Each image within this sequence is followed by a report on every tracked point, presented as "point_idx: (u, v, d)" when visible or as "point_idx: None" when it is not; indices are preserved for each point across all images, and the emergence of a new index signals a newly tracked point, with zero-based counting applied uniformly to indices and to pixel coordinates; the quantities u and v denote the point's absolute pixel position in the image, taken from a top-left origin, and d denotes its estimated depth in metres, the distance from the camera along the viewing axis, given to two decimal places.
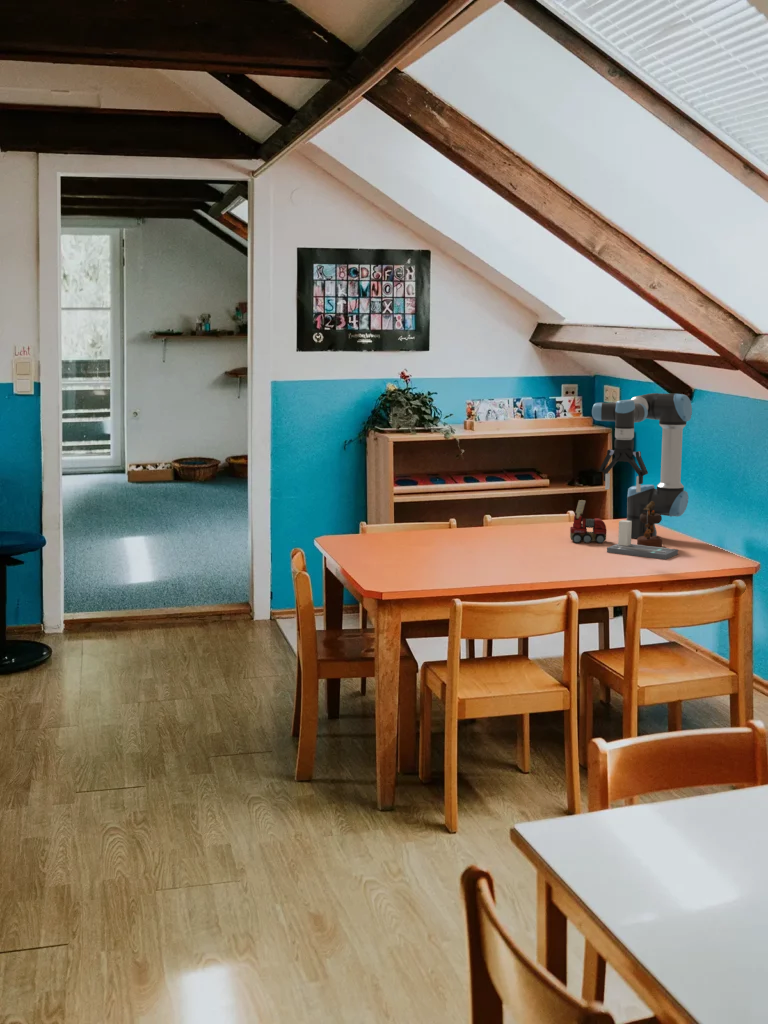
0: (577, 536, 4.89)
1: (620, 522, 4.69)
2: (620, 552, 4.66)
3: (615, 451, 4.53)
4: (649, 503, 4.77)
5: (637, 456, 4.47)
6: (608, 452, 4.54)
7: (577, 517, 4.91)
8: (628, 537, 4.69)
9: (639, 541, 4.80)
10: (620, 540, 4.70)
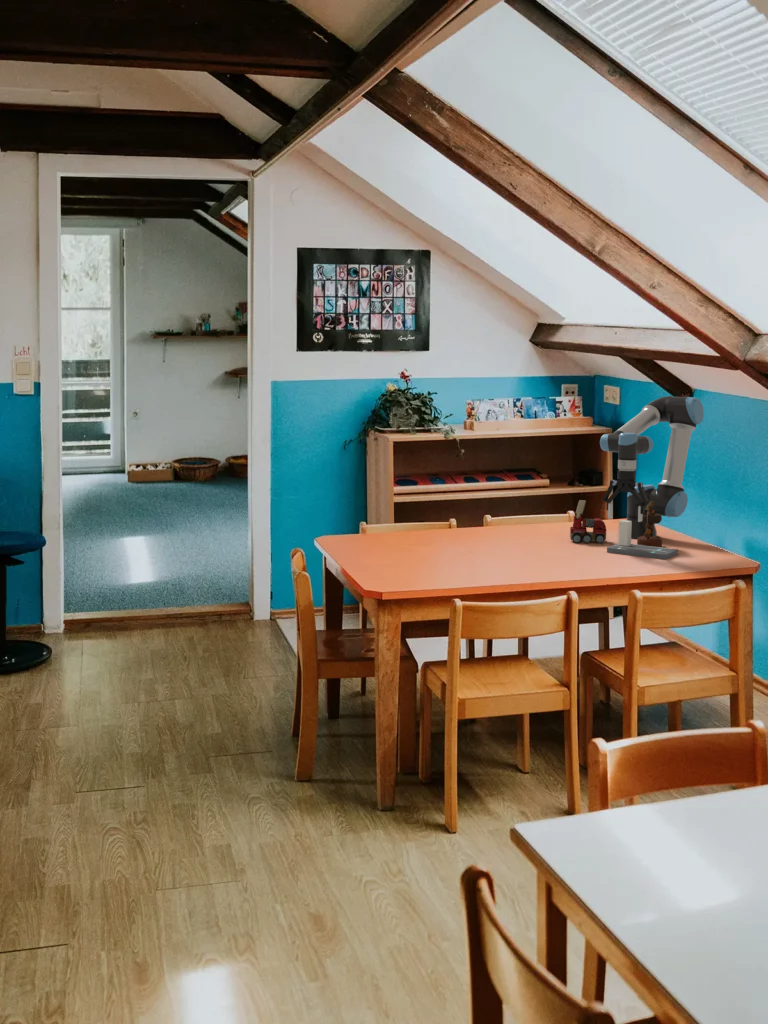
0: (577, 536, 4.89)
1: (620, 522, 4.69)
2: (620, 552, 4.66)
3: (618, 482, 4.68)
4: (649, 503, 4.77)
5: (639, 487, 4.62)
6: (611, 482, 4.69)
7: (577, 517, 4.91)
8: (628, 537, 4.69)
9: (639, 541, 4.80)
10: (620, 540, 4.70)
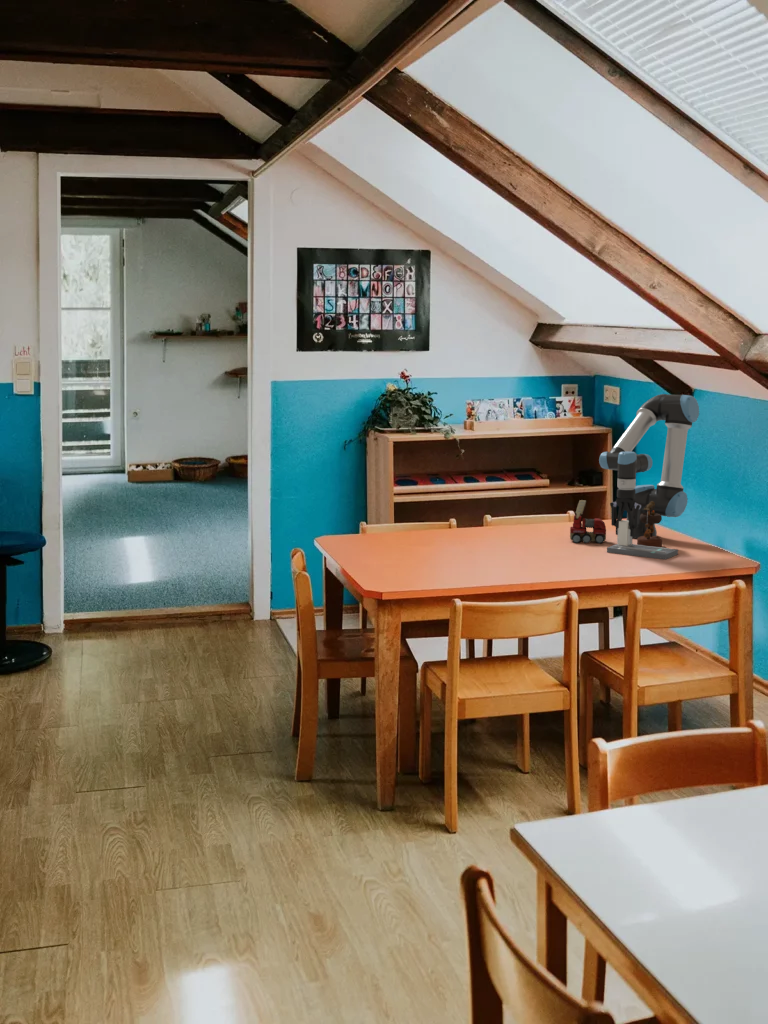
0: (576, 536, 4.89)
1: (620, 522, 4.69)
2: (620, 552, 4.66)
3: (617, 500, 4.69)
4: (649, 503, 4.77)
5: (637, 509, 4.64)
6: (611, 505, 4.71)
7: (577, 517, 4.91)
8: None
9: (639, 541, 4.80)
10: (620, 540, 4.70)
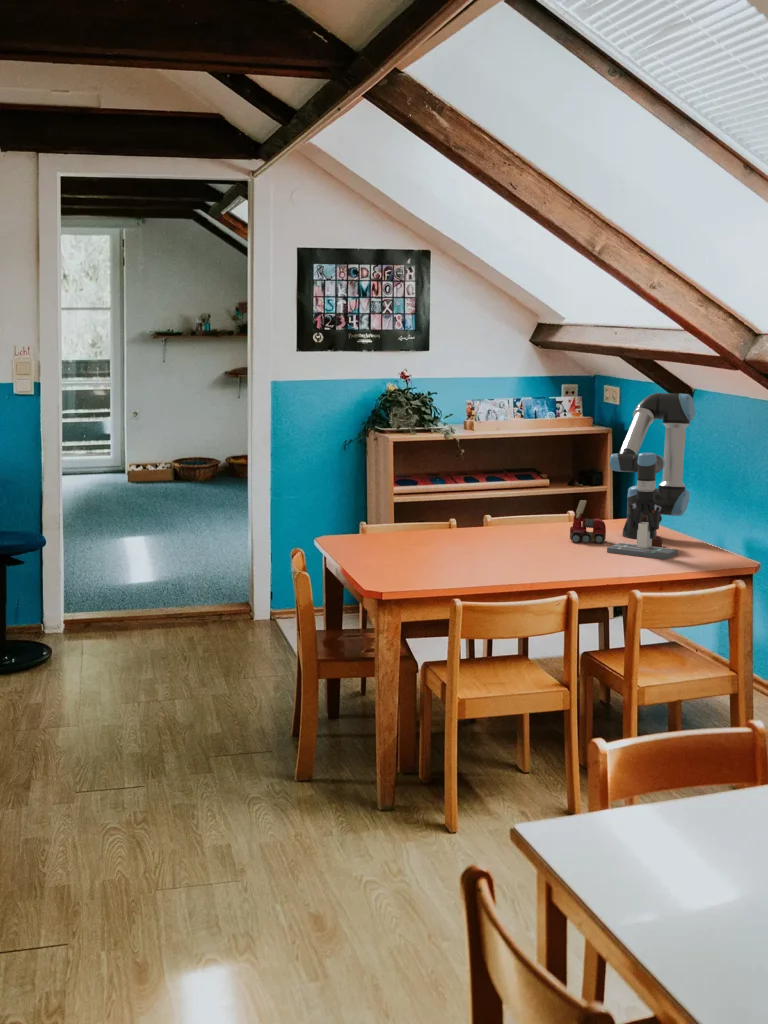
0: (576, 536, 4.90)
1: (640, 524, 4.64)
2: (620, 552, 4.66)
3: (636, 502, 4.64)
4: None
5: (656, 511, 4.59)
6: (631, 506, 4.66)
7: (577, 517, 4.92)
8: None
9: None
10: (639, 542, 4.65)
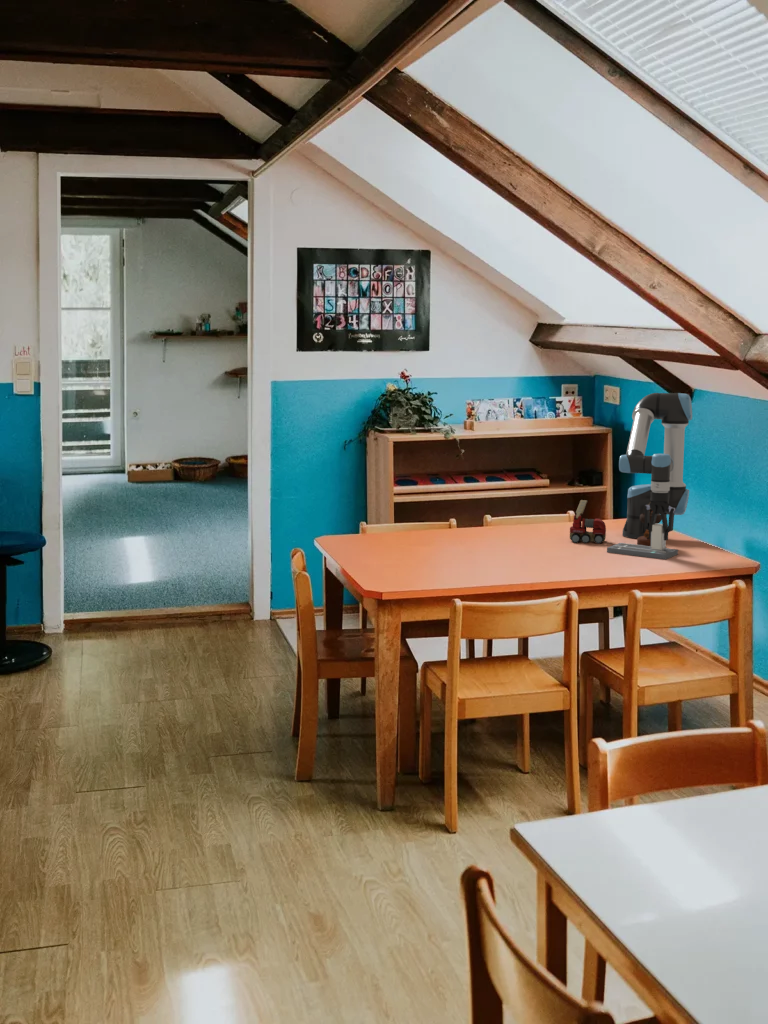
0: (575, 536, 4.90)
1: (654, 526, 4.60)
2: (620, 552, 4.66)
3: (650, 504, 4.60)
4: (649, 503, 4.77)
5: (671, 512, 4.55)
6: (645, 508, 4.62)
7: (577, 517, 4.92)
8: None
9: (639, 541, 4.80)
10: (653, 544, 4.61)
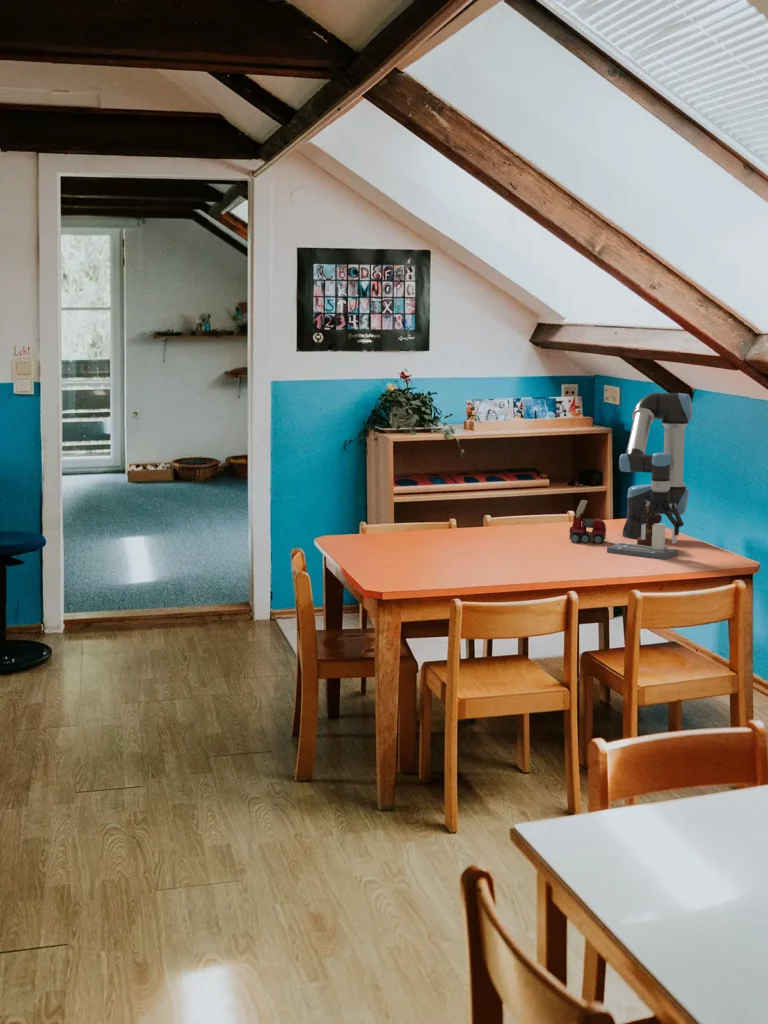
0: (575, 536, 4.90)
1: (654, 526, 4.60)
2: (620, 552, 4.66)
3: (651, 502, 4.60)
4: None
5: (673, 508, 4.55)
6: (644, 503, 4.62)
7: (576, 517, 4.92)
8: (662, 541, 4.60)
9: (639, 541, 4.80)
10: (654, 544, 4.61)
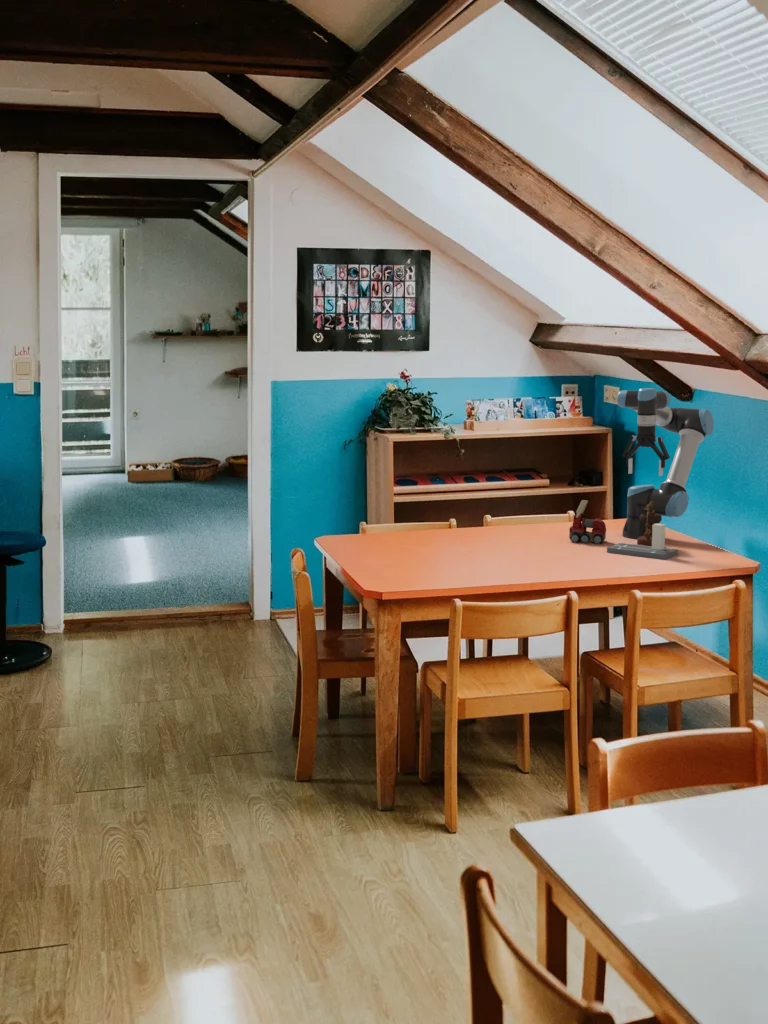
0: (574, 536, 4.90)
1: (654, 526, 4.60)
2: (620, 552, 4.66)
3: (638, 437, 4.73)
4: (649, 503, 4.77)
5: (659, 441, 4.68)
6: (631, 438, 4.75)
7: (576, 517, 4.92)
8: (662, 541, 4.60)
9: (639, 541, 4.80)
10: (654, 544, 4.61)
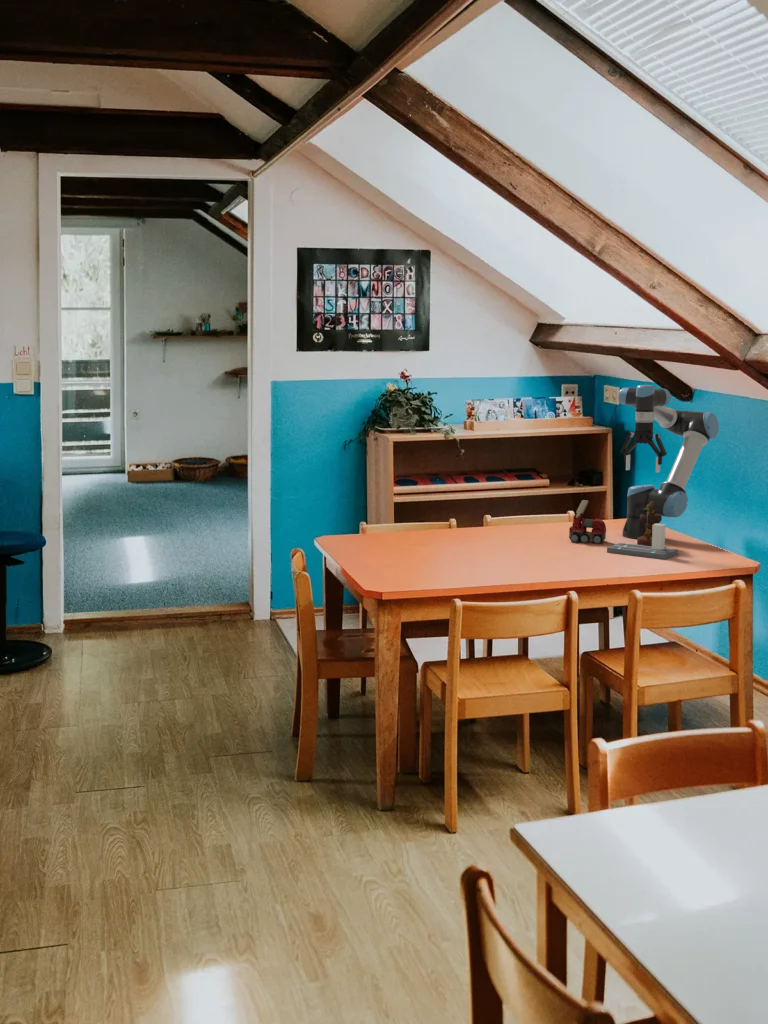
0: (574, 535, 4.90)
1: (654, 526, 4.60)
2: (620, 552, 4.66)
3: (635, 433, 4.75)
4: (649, 503, 4.77)
5: (657, 438, 4.70)
6: (629, 434, 4.77)
7: (576, 517, 4.92)
8: (662, 541, 4.60)
9: (639, 541, 4.80)
10: (654, 544, 4.61)
